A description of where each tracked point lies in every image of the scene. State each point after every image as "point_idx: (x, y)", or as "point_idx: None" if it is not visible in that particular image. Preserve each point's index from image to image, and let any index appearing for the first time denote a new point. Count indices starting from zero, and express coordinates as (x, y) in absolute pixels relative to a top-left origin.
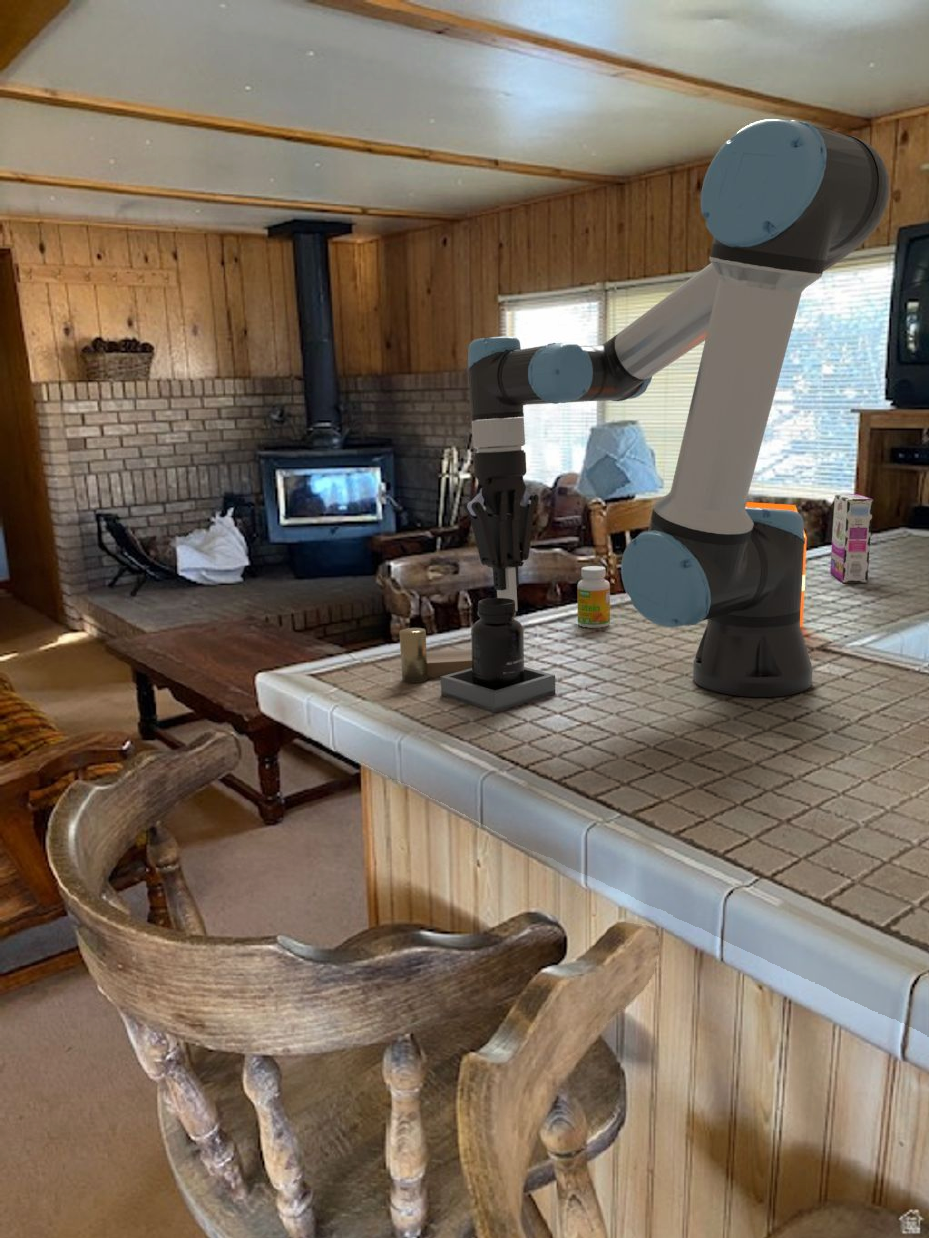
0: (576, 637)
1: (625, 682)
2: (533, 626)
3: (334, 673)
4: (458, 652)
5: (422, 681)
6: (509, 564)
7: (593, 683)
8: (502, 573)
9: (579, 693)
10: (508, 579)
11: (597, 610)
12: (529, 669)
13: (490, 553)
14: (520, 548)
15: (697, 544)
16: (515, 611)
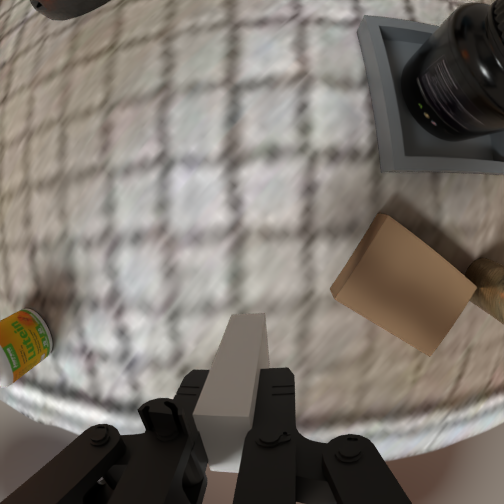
0: (82, 299)
1: (215, 6)
2: (108, 400)
3: (501, 381)
4: (395, 312)
5: (483, 258)
6: (200, 451)
7: (262, 28)
8: (274, 415)
9: (321, 8)
10: (254, 381)
11: (18, 323)
12: (385, 70)
13: (394, 490)
14: (92, 490)
15: None
16: (494, 3)
